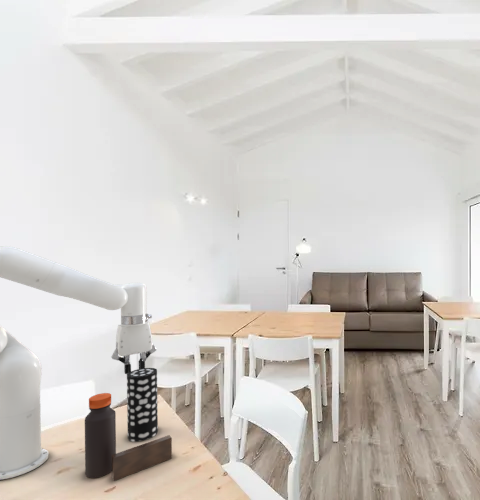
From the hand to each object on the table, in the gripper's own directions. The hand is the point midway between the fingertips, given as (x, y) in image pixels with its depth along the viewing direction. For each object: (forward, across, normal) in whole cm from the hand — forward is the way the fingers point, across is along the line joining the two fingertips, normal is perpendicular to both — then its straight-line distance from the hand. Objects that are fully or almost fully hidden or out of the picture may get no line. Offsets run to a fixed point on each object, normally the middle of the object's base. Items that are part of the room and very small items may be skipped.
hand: (134, 373), depth 120 cm
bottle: (+17, +13, +22) cm, 31 cm away
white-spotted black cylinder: (+17, 0, +10) cm, 20 cm away
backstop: (+17, +4, +28) cm, 34 cm away
